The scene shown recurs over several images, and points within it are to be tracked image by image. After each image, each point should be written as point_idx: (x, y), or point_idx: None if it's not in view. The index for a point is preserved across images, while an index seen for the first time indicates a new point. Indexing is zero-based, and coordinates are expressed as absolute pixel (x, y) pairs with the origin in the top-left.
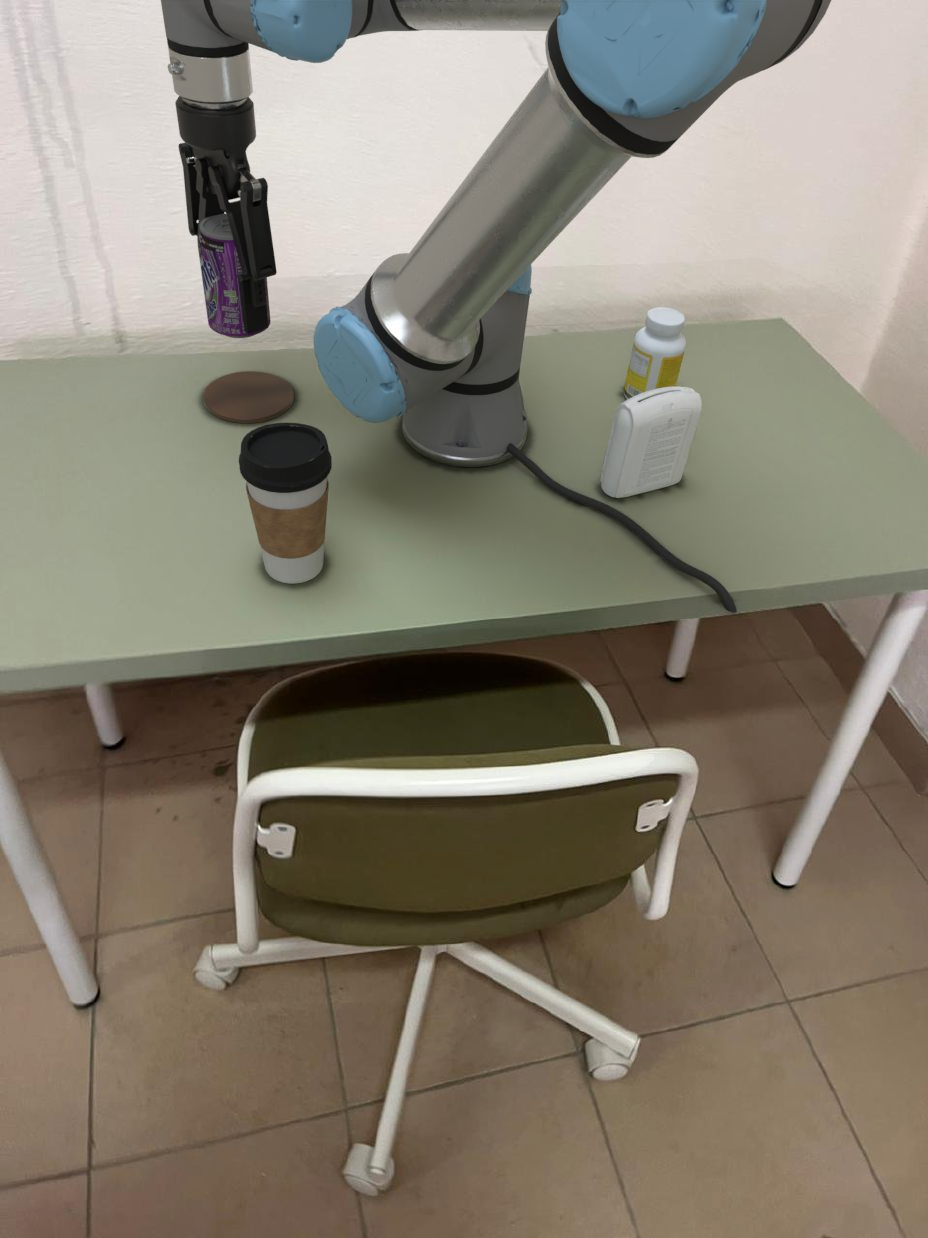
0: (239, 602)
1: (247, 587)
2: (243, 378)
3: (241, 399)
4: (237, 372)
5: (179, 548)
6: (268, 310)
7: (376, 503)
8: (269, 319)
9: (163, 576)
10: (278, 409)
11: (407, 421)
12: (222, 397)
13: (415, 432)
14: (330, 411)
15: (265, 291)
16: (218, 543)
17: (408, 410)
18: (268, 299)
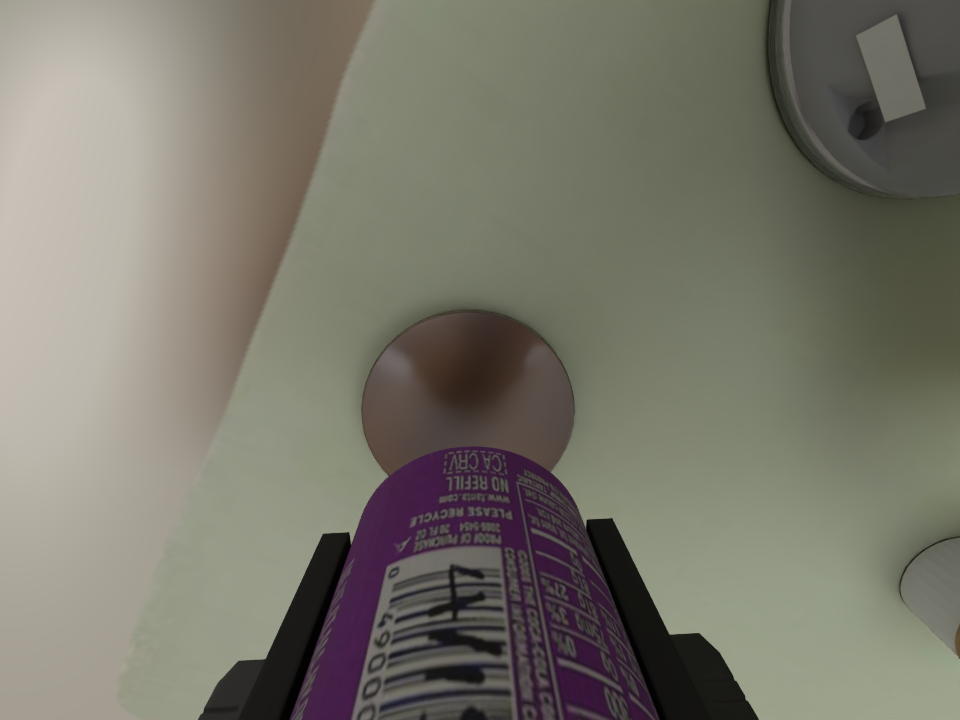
0: (940, 664)
1: (926, 645)
2: (398, 394)
3: (479, 439)
4: (365, 394)
5: (783, 681)
6: (563, 508)
7: (951, 384)
8: (552, 482)
9: (816, 715)
10: (564, 391)
11: (902, 180)
12: None
13: (946, 191)
14: (626, 279)
15: (750, 705)
16: (817, 638)
17: (910, 161)
18: (556, 524)
